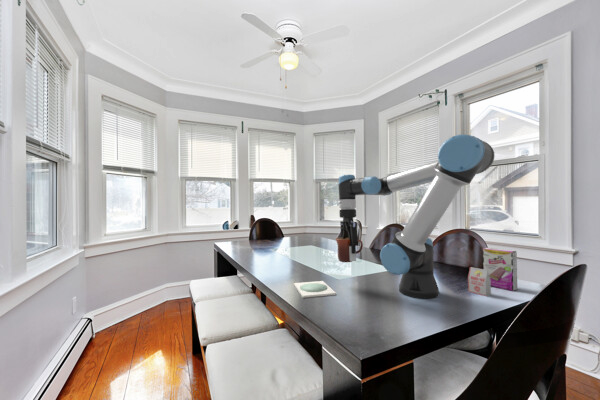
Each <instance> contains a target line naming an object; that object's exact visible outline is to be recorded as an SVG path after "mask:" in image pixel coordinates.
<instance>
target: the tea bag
mask: <svg viewBox="0 0 600 400" xmlns="http://www.w3.org/2000/svg"><path fill="white" fill-rule="evenodd" d="M467 291H468V292H467V293H470V294H471V293H472V294H476V295H480V296H482V297H488V296H491V295H492V286H491V280H490V277H489V273H488V270H484V269H483V268H478V267H474V266H473V267H472V266H469V271H468V275H467Z"/></svg>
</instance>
